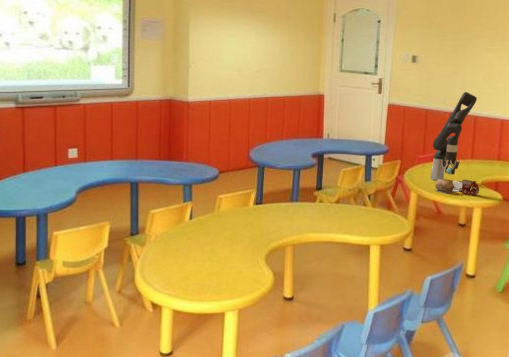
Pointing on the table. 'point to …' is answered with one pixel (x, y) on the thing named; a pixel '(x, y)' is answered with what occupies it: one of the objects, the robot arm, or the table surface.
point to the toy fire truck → (469, 187)
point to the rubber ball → (449, 170)
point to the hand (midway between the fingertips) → (449, 173)
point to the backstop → (457, 185)
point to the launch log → (444, 185)
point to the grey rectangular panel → (450, 192)
